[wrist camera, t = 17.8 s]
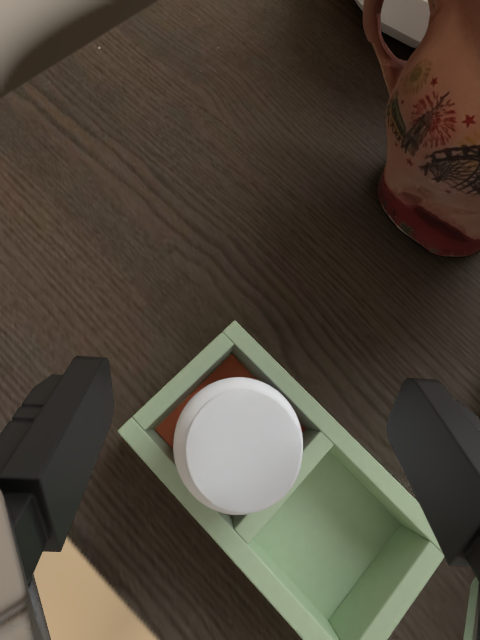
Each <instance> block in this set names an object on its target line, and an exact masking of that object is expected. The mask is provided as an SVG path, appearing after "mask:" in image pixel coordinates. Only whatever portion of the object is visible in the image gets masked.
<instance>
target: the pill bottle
mask: <svg viewBox="0 0 480 640" xmlns="http://www.w3.org/2000/svg"><path fill="white" fill-rule="evenodd" d="M173 452H174V460H175V464H176V468H177V471H178V473H179V476H180V478H181V480H182V482H183V483H184V485H185V487H186V488H187V489H188V490H189V492H190V493H191V494H192V495H193V496H194V497H195V498H196V499H197V500H198V501H199V502H201V503H202V504H204V505H205V506H207V507H209V508H211V509H213V510H215V511H218V512H221V513H224V514H230V515H245V514H251V513H255V512H259V511H262V510H264V509H267V508H269V507H271V506H272V505H274V504H276V503H277V502H278V501H280V500H281V499H282V498H283V497H284V496H285V495H286V494H287V493H288V491H289V490H290V489H291V488H292V486H293V484H294V482H295V481H296V479H297V476H298V474H299V471H300V467H301V462H302V455H303V436H302V430H301V426H300V423H299V420H298V417H297V415H296V413H295V411H294V409H293V408H292V406H291V405H290V403H289V402H288V401H287V400H286V398H285V397H284V396H283V395H282V394H281V393H279V392H278V391H277V390H276V389H274V388H273V387H271V386H270V385H268V384H266V383H264V382H261V381H259V380H255V379H251V378H245V377H233V378H226V379H222V380H219V381H216V382H213V383H211V384H209V385H207V386H206V387H204V388H203V389H201V390H200V391H199V392H198V393H196V394H195V395H194V396H193V397H192V398H191V399H190V400H189V402H188V403H187V404H186V406H185V407H184V409H183V410H182V412H181V414H180V416H179V418H178V421H177V424H176V428H175V433H174V442H173Z"/></svg>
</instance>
